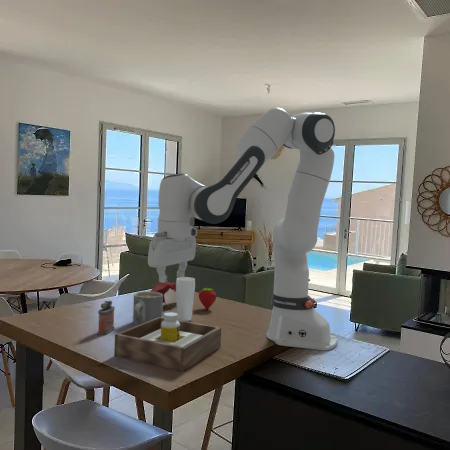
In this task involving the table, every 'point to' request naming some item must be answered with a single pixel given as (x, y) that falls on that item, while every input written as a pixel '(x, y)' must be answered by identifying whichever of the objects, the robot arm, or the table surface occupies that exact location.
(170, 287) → the decorative bird sculpture
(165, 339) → the supplement bottle
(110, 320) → the lighter
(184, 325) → the crate
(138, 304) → the coffee mug
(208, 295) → the strawberry
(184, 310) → the drinking glass
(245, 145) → the robot arm
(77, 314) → the table surface
